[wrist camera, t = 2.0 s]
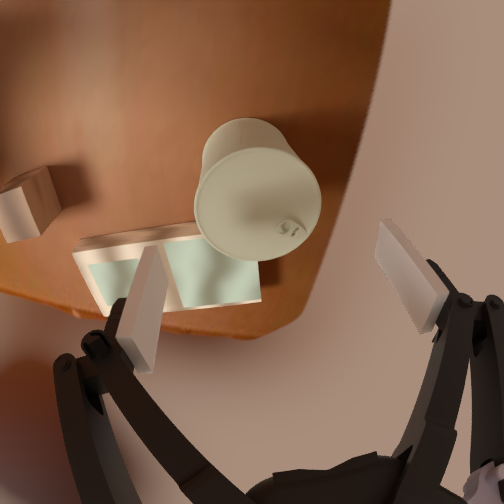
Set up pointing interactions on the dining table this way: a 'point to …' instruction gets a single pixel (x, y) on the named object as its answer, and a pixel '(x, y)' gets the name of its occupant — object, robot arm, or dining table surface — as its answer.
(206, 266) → the board
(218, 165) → the can
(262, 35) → the dining table surface
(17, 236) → the cube
